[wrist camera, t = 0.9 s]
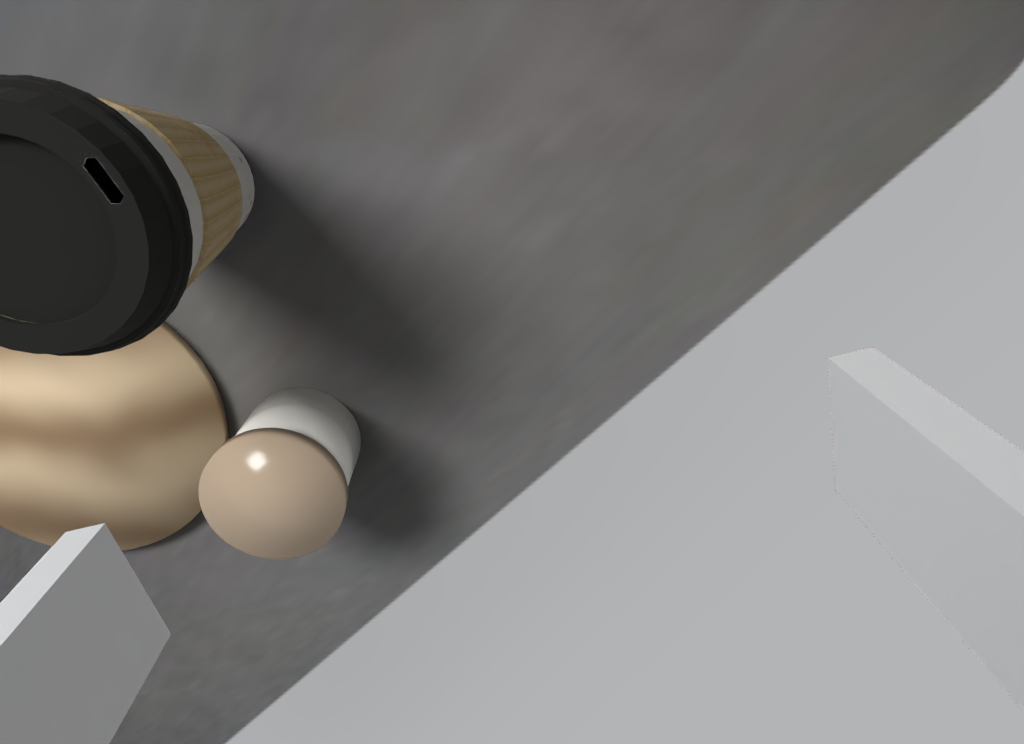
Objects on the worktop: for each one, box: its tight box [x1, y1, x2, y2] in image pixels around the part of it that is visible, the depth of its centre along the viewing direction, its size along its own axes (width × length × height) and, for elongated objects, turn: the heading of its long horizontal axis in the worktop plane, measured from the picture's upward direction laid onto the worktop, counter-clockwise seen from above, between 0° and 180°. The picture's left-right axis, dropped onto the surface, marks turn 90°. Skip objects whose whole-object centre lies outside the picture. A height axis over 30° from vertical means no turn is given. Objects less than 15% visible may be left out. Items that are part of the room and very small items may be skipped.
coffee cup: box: [0, 75, 255, 356], centre depth 29 cm, size 10×10×15 cm
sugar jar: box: [198, 388, 361, 559], centre depth 39 cm, size 8×8×7 cm
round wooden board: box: [0, 322, 229, 551], centre depth 41 cm, size 18×18×1 cm
